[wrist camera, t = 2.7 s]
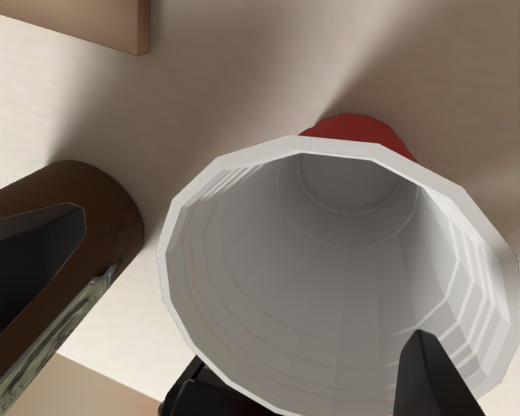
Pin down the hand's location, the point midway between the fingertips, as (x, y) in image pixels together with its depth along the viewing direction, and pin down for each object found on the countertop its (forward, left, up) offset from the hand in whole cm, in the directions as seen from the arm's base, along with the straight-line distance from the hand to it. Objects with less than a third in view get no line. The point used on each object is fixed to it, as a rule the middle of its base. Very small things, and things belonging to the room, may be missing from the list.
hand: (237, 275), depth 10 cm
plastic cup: (-2, -2, -13) cm, 13 cm away
